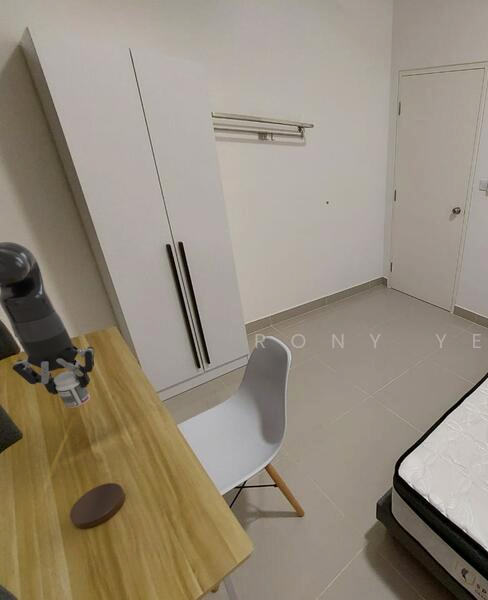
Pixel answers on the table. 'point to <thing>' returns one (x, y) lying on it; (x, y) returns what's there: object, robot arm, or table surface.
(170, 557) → the table surface
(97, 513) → the walnut disc
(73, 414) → the table surface
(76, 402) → the pill bottle
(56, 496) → the table surface
